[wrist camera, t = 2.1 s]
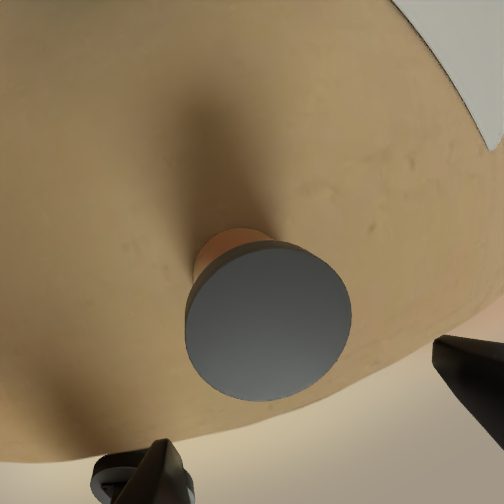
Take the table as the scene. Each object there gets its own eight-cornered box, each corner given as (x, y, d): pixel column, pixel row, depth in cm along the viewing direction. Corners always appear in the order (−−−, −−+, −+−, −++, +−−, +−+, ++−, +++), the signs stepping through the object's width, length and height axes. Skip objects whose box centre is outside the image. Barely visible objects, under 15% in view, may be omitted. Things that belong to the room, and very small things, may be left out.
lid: (344, 354, 15) (358, 370, 14) (213, 399, 15) (216, 420, 13) (322, 220, 14) (338, 225, 12) (162, 267, 13) (159, 279, 11)
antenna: (440, -86, 15) (445, -89, 14) (541, 56, 23) (547, 55, 21) (327, -57, 16) (333, -64, 15) (486, 154, 23) (495, 154, 22)
